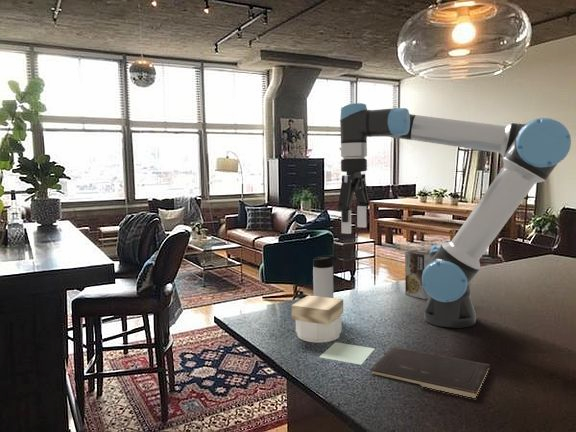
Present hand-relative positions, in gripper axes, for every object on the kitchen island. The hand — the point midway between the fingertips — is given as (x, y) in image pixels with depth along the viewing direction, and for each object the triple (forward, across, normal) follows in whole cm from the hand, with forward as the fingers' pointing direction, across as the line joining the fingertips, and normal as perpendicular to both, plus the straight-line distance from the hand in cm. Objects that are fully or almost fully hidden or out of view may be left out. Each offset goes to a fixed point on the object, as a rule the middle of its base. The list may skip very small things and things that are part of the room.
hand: (354, 230), depth 142 cm
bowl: (+29, +14, -6) cm, 32 cm away
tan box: (+23, +14, -6) cm, 27 cm away
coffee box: (+29, -39, +11) cm, 50 cm away
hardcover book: (+29, +25, +27) cm, 47 cm away
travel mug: (+29, -2, -11) cm, 31 cm away
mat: (+29, +23, +6) cm, 37 cm away
